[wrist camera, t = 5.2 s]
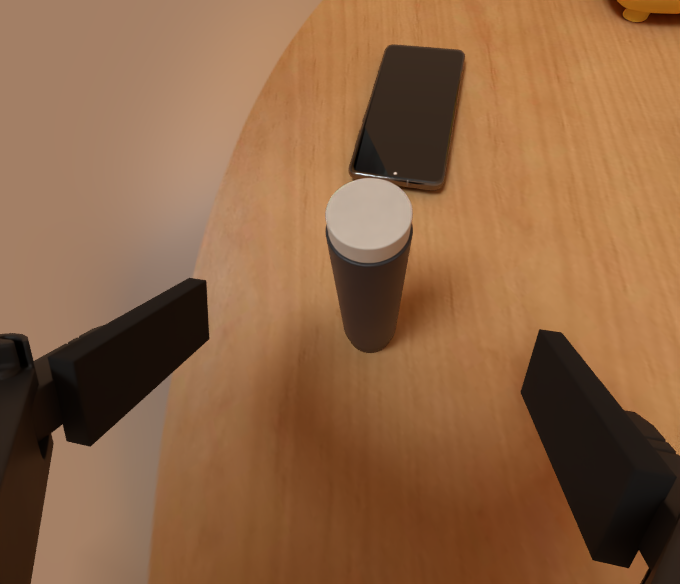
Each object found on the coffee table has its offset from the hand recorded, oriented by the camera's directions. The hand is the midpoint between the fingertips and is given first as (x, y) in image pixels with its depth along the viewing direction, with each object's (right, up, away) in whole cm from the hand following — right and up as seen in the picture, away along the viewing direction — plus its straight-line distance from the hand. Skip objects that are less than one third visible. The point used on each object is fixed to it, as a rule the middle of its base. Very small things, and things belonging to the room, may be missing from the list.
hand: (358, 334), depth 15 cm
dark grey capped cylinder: (+1, -1, +10) cm, 10 cm away
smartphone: (+5, +17, +17) cm, 25 cm away
